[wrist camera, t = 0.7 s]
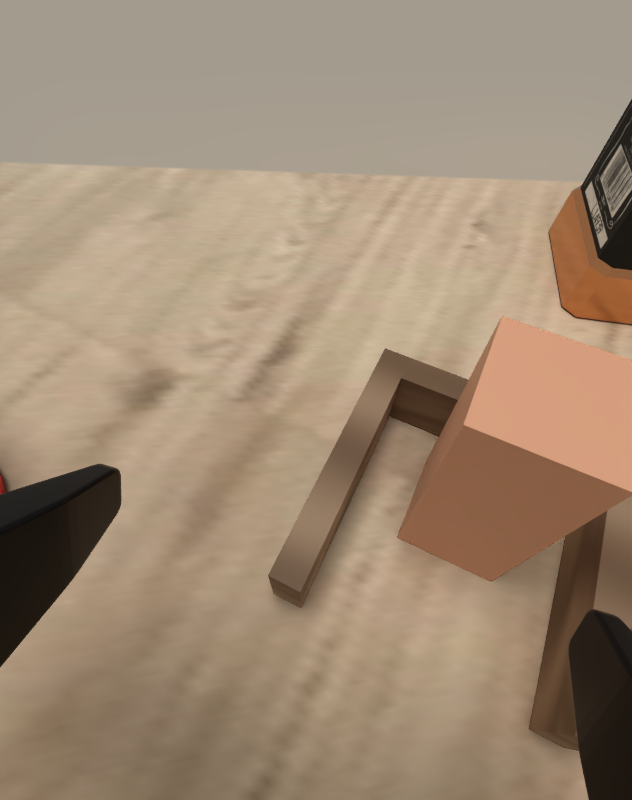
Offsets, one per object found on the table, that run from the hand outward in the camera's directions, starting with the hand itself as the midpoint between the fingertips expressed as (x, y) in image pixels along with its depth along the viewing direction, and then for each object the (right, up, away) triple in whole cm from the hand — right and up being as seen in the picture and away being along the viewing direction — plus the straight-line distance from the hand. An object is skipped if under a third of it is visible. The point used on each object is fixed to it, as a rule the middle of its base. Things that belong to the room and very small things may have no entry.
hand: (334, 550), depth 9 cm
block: (+7, -3, +16) cm, 18 cm away
